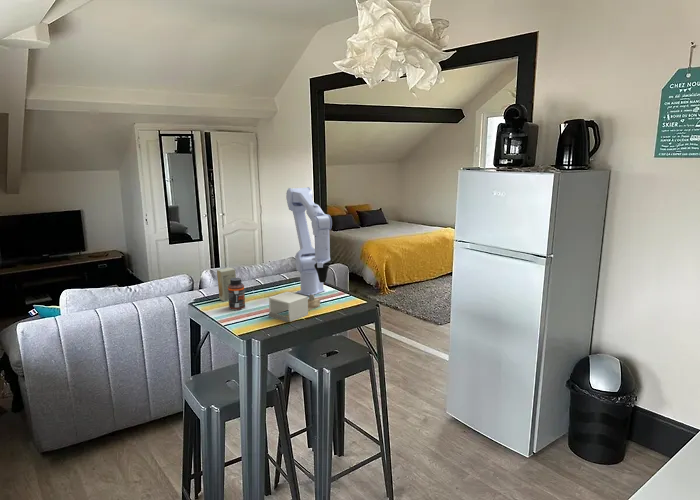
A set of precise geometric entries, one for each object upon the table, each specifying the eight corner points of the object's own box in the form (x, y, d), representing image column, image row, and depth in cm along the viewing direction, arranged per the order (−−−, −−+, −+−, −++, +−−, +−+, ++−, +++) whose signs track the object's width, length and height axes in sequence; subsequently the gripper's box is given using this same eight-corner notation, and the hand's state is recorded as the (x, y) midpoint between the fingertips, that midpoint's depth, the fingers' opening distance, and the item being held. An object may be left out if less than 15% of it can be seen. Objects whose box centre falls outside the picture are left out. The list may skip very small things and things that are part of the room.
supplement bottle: (241, 311, 178) (239, 281, 176) (226, 310, 179) (224, 280, 177) (247, 305, 184) (246, 277, 181) (233, 305, 185) (231, 276, 183)
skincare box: (233, 296, 196) (231, 267, 194) (238, 298, 193) (236, 269, 190) (218, 299, 192) (216, 269, 190) (222, 301, 189) (220, 271, 187)
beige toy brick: (312, 304, 185) (312, 292, 184) (320, 306, 183) (319, 294, 182) (295, 310, 178) (295, 298, 177) (303, 313, 176) (303, 300, 175)
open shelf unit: (287, 309, 179) (287, 291, 178) (308, 314, 173) (307, 296, 172) (267, 316, 172) (267, 297, 171) (288, 322, 166) (287, 303, 164)
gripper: (314, 243, 190) (315, 276, 193) (308, 250, 176) (309, 286, 179) (332, 243, 189) (332, 276, 192) (327, 250, 175) (328, 286, 178)
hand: (322, 281), depth 185 cm, fingers closed
